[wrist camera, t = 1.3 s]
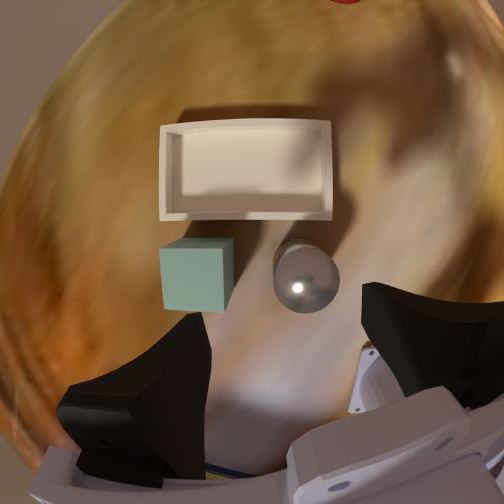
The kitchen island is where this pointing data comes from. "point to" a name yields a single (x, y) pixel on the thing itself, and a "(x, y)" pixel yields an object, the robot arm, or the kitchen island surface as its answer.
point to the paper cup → (346, 1)
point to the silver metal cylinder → (304, 276)
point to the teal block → (197, 274)
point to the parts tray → (246, 170)
